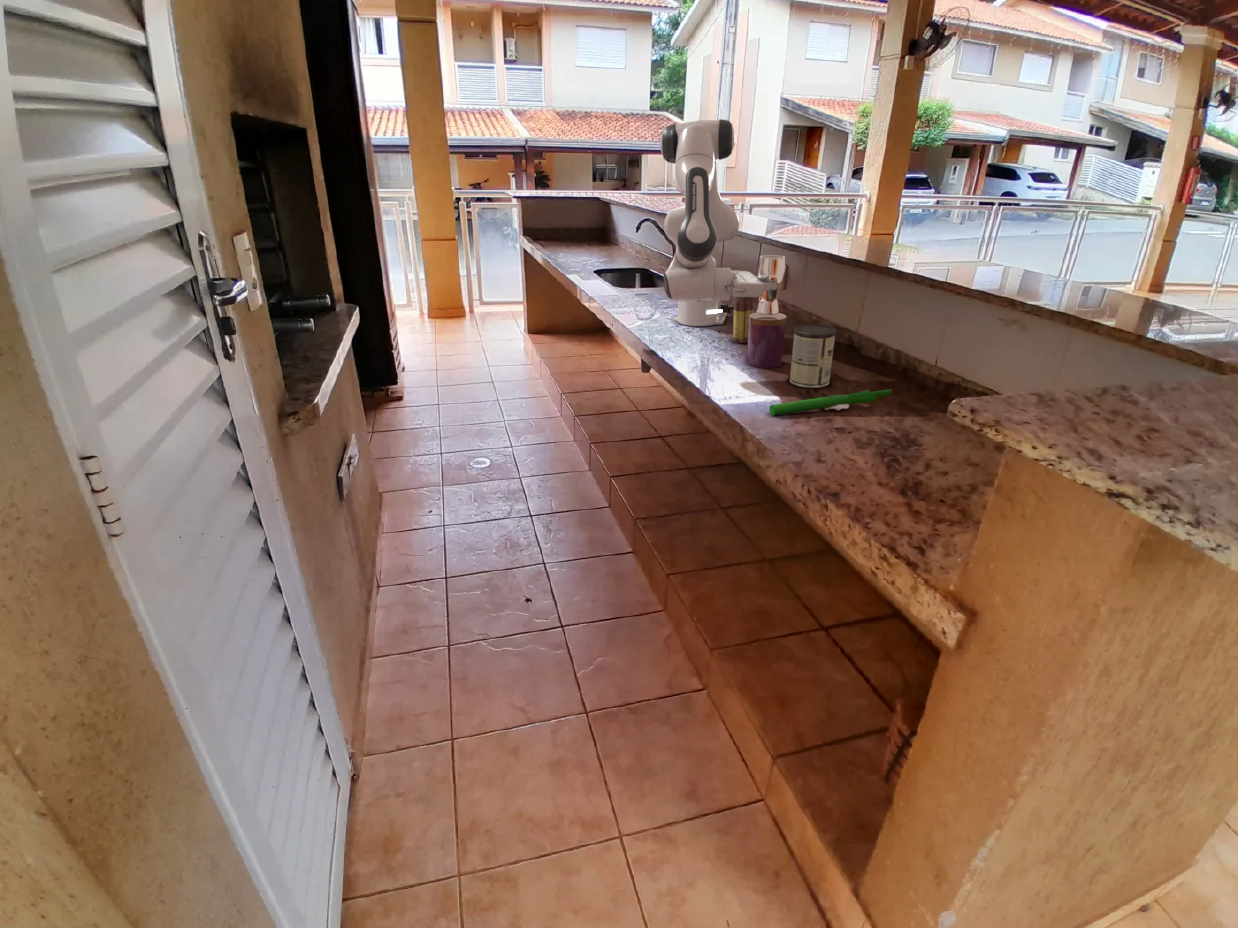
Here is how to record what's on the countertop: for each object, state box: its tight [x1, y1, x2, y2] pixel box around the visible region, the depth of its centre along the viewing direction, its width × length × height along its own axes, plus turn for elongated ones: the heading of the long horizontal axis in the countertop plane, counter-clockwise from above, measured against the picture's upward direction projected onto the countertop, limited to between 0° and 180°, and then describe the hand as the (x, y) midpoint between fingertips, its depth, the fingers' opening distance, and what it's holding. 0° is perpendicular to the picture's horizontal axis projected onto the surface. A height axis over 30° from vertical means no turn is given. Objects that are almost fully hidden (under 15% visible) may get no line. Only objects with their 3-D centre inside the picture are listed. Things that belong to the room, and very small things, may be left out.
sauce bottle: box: [732, 296, 754, 344], centre depth 196 cm, size 7×6×20 cm
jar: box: [745, 312, 787, 369], centre depth 176 cm, size 10×10×14 cm
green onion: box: [769, 388, 892, 416], centre depth 144 cm, size 5×3×30 cm
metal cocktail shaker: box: [756, 254, 786, 315], centre depth 169 cm, size 7×7×15 cm
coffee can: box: [789, 323, 837, 389], centre depth 159 cm, size 10×10×14 cm
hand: (773, 283), depth 169 cm, fingers closed on metal cocktail shaker, 6 cm apart
